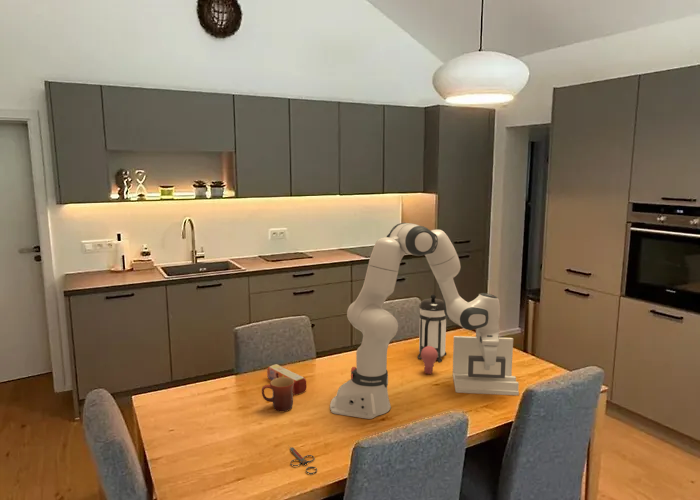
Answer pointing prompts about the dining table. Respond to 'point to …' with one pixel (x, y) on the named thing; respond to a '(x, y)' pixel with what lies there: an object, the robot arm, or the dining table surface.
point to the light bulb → (429, 358)
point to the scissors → (301, 459)
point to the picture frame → (478, 367)
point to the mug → (281, 393)
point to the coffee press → (432, 326)
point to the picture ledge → (481, 384)
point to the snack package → (279, 371)
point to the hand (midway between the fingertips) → (486, 367)
